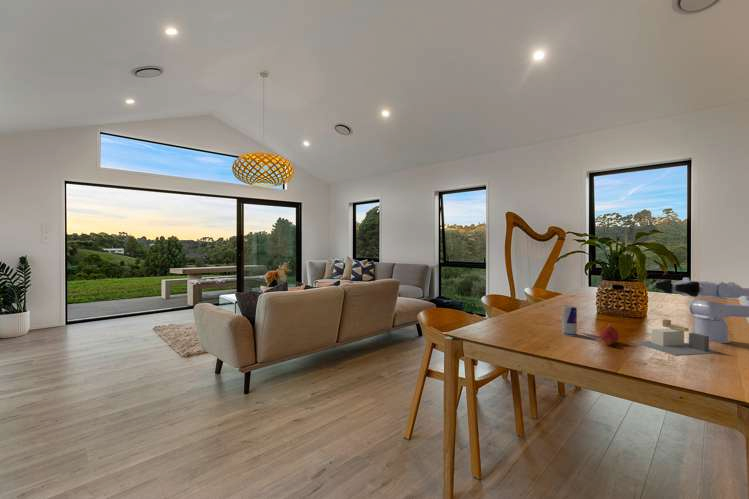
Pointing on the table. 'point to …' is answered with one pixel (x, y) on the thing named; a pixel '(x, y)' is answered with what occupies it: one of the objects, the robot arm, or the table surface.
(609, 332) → the onion
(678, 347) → the slate board
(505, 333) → the table surface
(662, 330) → the cover block
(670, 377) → the table surface
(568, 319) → the energy drink
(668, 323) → the brass bolt
